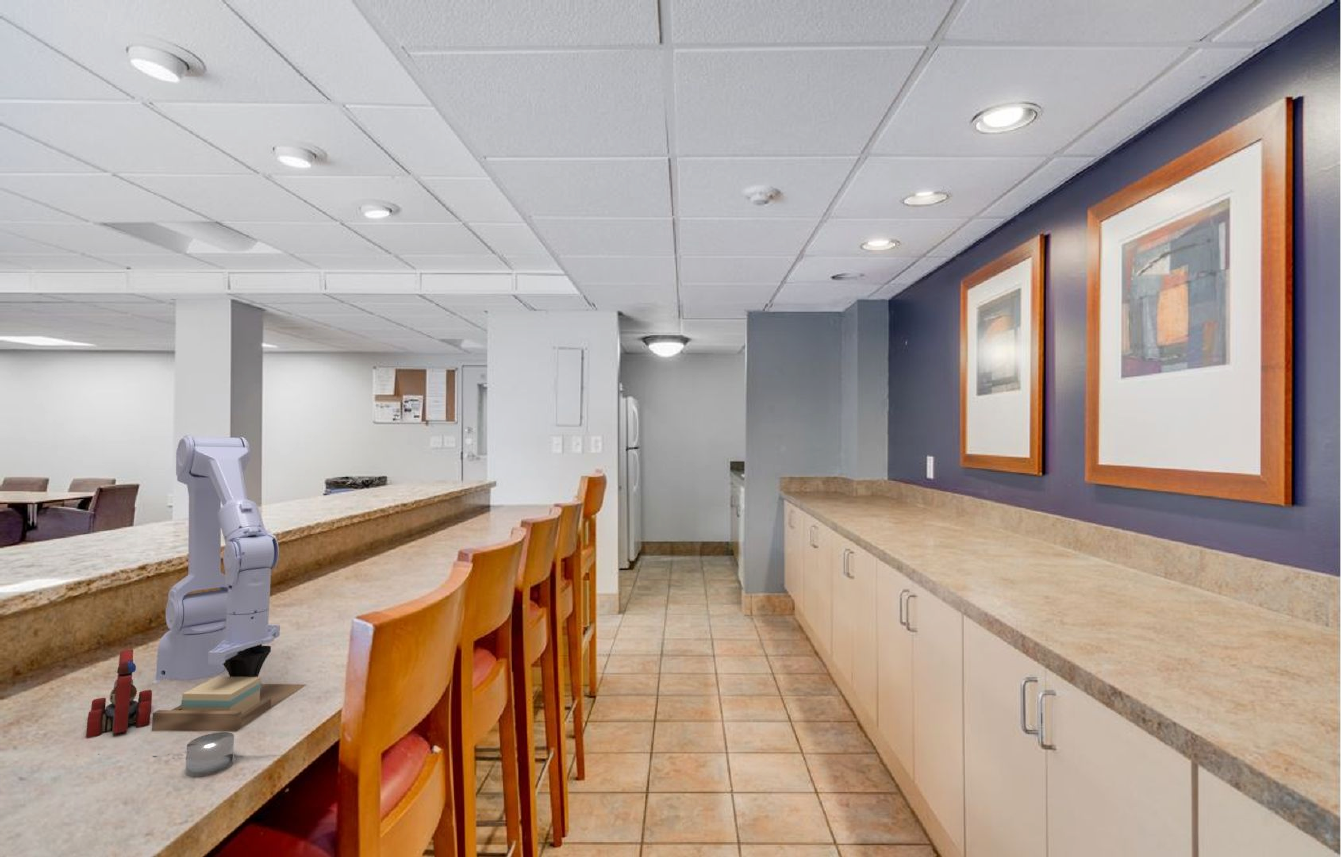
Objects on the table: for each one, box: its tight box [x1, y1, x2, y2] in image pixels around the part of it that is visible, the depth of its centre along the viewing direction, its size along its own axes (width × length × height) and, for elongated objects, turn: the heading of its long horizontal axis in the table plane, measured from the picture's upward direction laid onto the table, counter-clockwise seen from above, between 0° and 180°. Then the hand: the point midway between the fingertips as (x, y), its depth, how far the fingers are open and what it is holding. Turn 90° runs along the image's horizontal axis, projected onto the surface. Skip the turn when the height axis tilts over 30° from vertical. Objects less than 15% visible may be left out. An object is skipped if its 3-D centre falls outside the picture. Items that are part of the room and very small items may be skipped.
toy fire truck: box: [85, 648, 153, 739], centre depth 91 cm, size 7×12×10 cm, turn 40°
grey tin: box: [185, 732, 235, 778], centre depth 80 cm, size 5×5×4 cm
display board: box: [151, 683, 307, 733], centre depth 97 cm, size 12×18×4 cm, turn 2°
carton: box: [180, 676, 262, 713], centre depth 93 cm, size 7×7×4 cm
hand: (243, 694), depth 98 cm, fingers closed
